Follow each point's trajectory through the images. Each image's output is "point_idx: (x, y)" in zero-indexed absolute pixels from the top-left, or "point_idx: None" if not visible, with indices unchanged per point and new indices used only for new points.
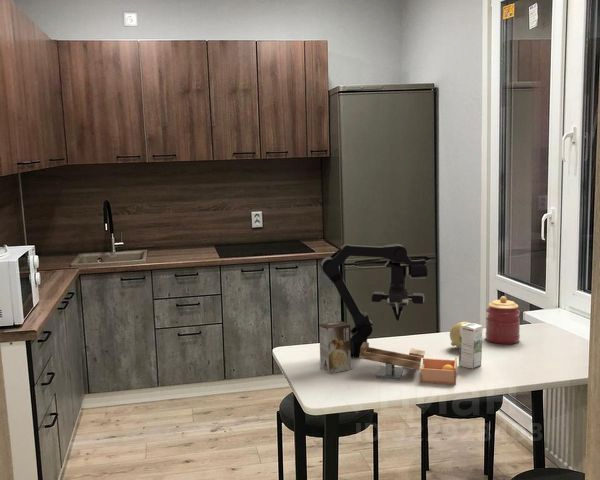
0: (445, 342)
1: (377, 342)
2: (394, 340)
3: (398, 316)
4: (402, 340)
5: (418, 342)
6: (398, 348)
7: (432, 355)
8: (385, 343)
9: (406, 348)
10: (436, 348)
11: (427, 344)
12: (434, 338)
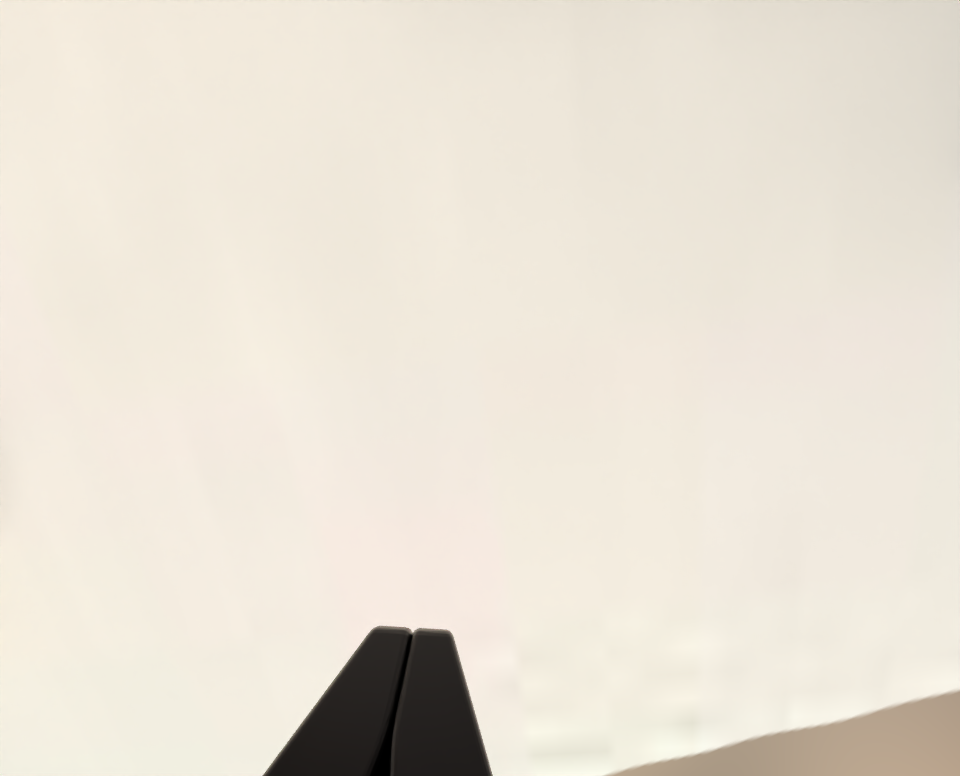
0: (62, 689)
1: (776, 634)
2: (580, 700)
3: (348, 753)
4: (494, 706)
5: (319, 669)
6: (509, 472)
7: (14, 266)
8: (680, 613)
9: (410, 484)
10: (74, 523)
11: (211, 626)
12: (200, 769)
